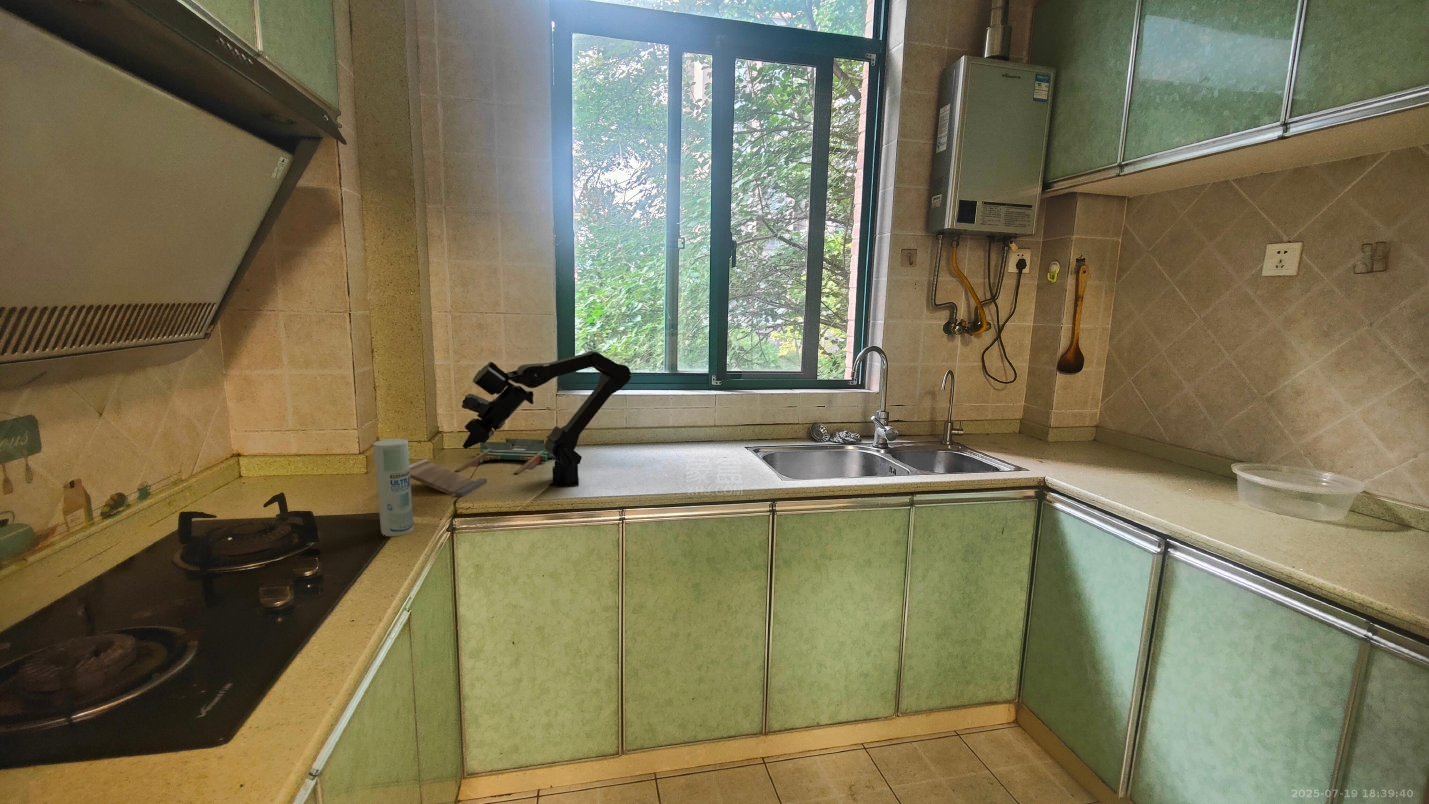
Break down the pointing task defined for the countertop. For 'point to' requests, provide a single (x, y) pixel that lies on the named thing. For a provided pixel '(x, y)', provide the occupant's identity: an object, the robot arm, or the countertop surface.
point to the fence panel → (438, 477)
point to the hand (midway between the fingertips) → (464, 447)
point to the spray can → (393, 486)
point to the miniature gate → (511, 453)
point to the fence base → (470, 487)
